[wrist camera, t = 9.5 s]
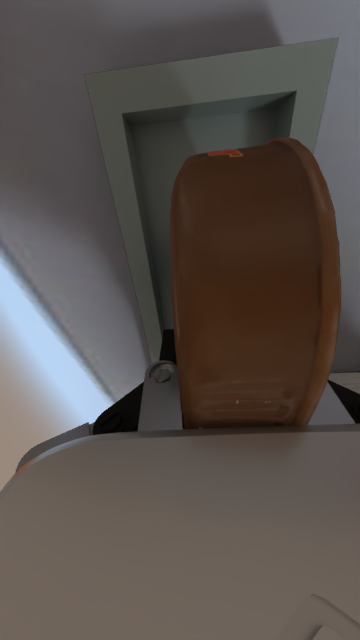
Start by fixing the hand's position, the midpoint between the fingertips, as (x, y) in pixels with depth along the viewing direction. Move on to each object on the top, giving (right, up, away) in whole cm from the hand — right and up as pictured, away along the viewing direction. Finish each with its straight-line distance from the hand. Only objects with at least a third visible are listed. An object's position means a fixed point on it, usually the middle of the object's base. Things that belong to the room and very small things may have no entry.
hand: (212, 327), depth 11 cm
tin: (0, +1, +1) cm, 1 cm away
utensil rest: (0, +2, +2) cm, 3 cm away
